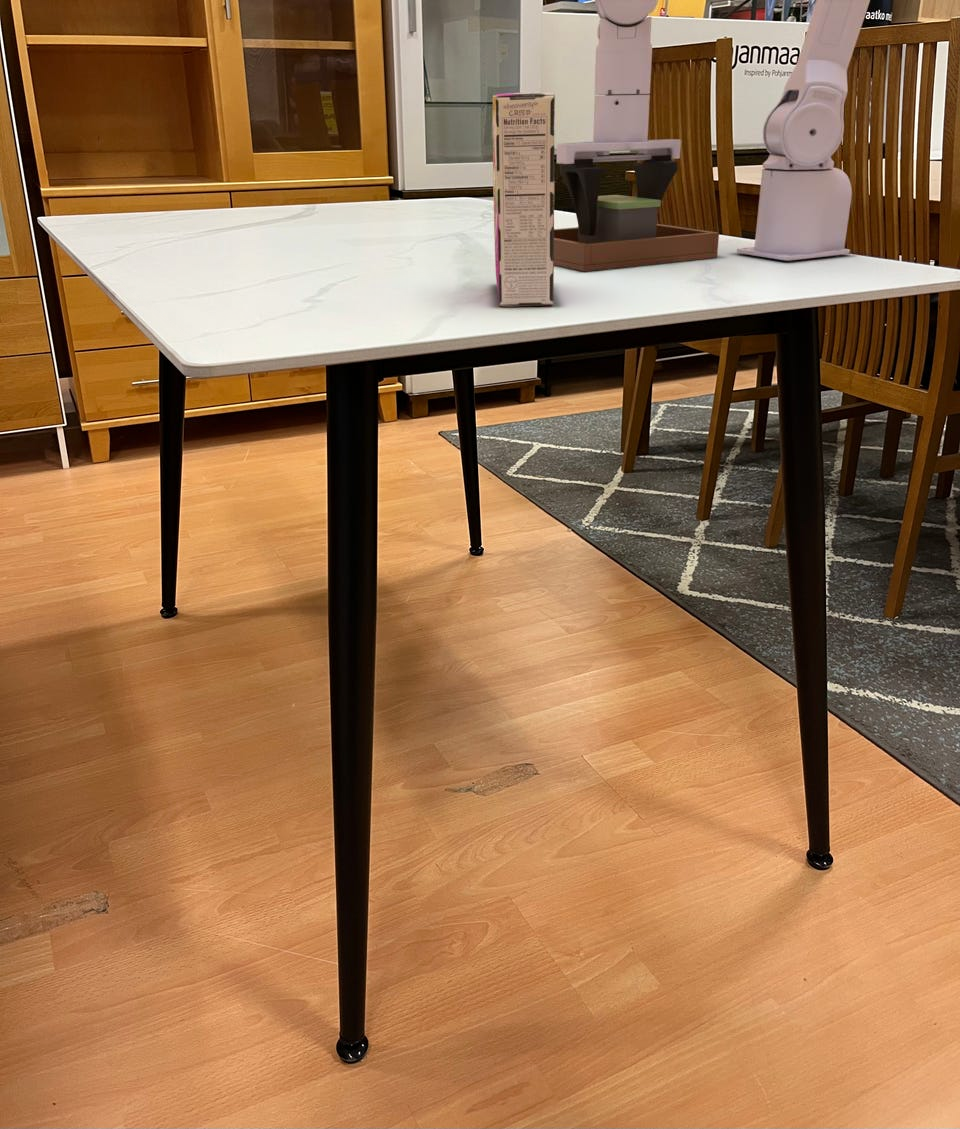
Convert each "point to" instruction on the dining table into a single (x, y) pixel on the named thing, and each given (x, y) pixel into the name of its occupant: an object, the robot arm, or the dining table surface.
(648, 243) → the tray
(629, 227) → the container
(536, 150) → the candy bar box
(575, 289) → the dining table surface
